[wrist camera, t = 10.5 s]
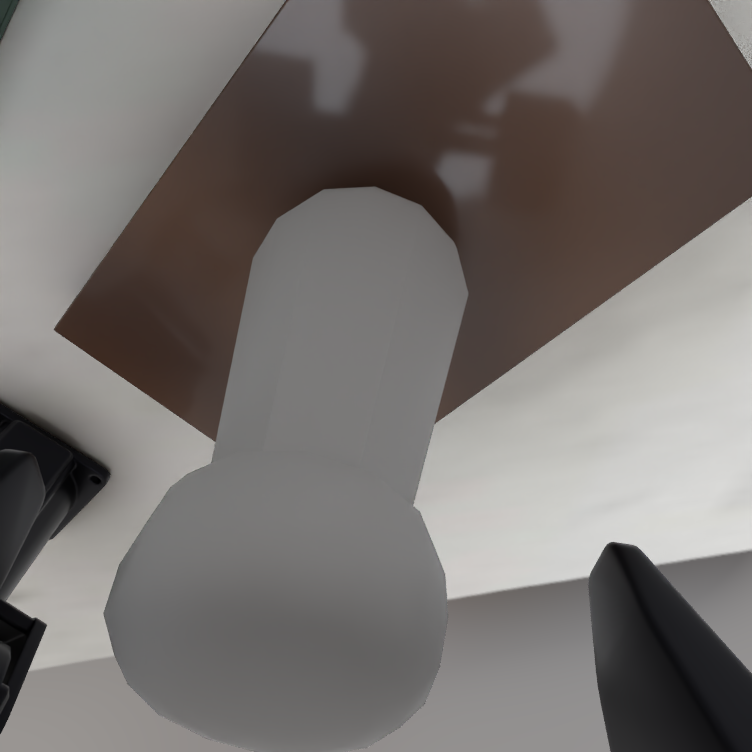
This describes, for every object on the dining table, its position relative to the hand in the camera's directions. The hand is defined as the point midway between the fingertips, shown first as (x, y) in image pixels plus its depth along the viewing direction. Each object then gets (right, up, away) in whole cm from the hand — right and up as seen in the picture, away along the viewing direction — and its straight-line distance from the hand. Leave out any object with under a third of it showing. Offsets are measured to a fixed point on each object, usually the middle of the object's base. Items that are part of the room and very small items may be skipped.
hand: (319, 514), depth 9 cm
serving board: (+1, +7, +10) cm, 12 cm away
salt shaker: (+1, +6, +9) cm, 10 cm away
